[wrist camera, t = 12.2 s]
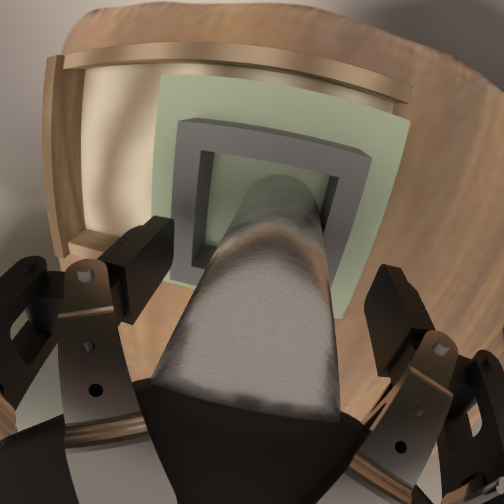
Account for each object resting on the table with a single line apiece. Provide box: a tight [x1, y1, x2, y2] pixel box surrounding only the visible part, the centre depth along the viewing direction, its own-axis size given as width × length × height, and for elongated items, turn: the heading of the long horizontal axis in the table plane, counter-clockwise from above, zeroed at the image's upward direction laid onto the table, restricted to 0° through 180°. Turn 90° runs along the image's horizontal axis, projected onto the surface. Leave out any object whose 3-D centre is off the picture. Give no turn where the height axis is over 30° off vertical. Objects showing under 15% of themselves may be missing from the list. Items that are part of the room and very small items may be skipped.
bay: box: [42, 42, 413, 259], centre depth 20 cm, size 26×18×5 cm
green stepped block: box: [151, 74, 411, 319], centre depth 17 cm, size 13×13×8 cm
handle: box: [151, 174, 341, 422], centre depth 10 cm, size 4×4×12 cm
